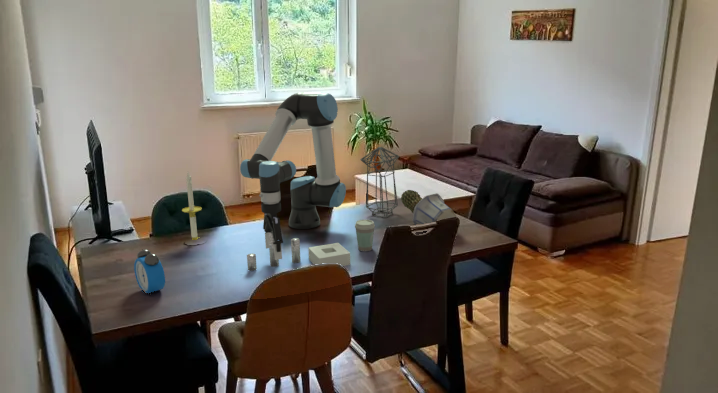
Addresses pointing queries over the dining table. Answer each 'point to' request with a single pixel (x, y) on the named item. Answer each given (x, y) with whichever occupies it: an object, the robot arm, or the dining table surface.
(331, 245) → the hole block
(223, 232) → the dining table surface
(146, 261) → the alarm clock
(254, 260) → the short pin
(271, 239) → the long pin
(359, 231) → the coffee cup
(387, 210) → the geometric lantern
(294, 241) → the medium pin
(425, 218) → the potted plant
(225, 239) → the dining table surface
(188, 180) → the candlestick
